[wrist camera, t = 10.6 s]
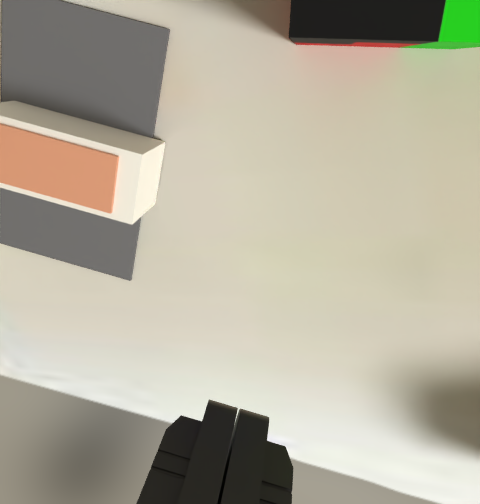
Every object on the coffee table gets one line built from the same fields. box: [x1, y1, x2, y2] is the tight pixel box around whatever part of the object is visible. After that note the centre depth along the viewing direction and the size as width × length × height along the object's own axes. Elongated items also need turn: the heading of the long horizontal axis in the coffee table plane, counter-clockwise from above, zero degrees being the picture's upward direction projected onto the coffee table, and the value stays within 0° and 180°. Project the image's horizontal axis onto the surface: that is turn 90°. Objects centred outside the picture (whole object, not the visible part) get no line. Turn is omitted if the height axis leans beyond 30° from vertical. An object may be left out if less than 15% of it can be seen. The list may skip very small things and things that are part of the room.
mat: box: [0, 0, 170, 281], centre depth 35 cm, size 20×12×1 cm, turn 167°
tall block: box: [0, 101, 165, 225], centre depth 32 cm, size 5×5×12 cm
